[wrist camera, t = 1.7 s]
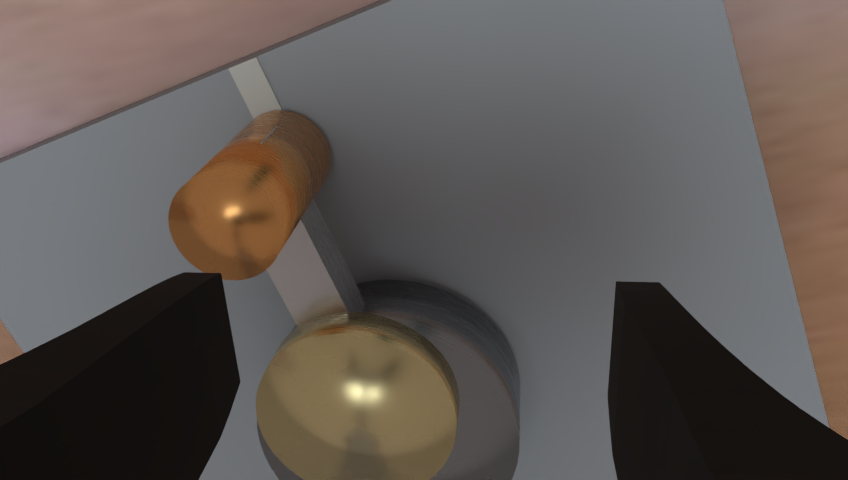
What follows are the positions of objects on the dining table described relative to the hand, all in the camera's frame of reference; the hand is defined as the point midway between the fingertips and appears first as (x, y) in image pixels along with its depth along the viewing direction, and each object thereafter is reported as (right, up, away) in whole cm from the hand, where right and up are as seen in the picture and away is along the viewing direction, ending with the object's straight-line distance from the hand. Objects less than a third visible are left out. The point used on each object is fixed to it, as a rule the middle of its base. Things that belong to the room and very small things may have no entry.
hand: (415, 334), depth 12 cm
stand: (0, -2, +12) cm, 12 cm away
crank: (-2, -1, +10) cm, 10 cm away
